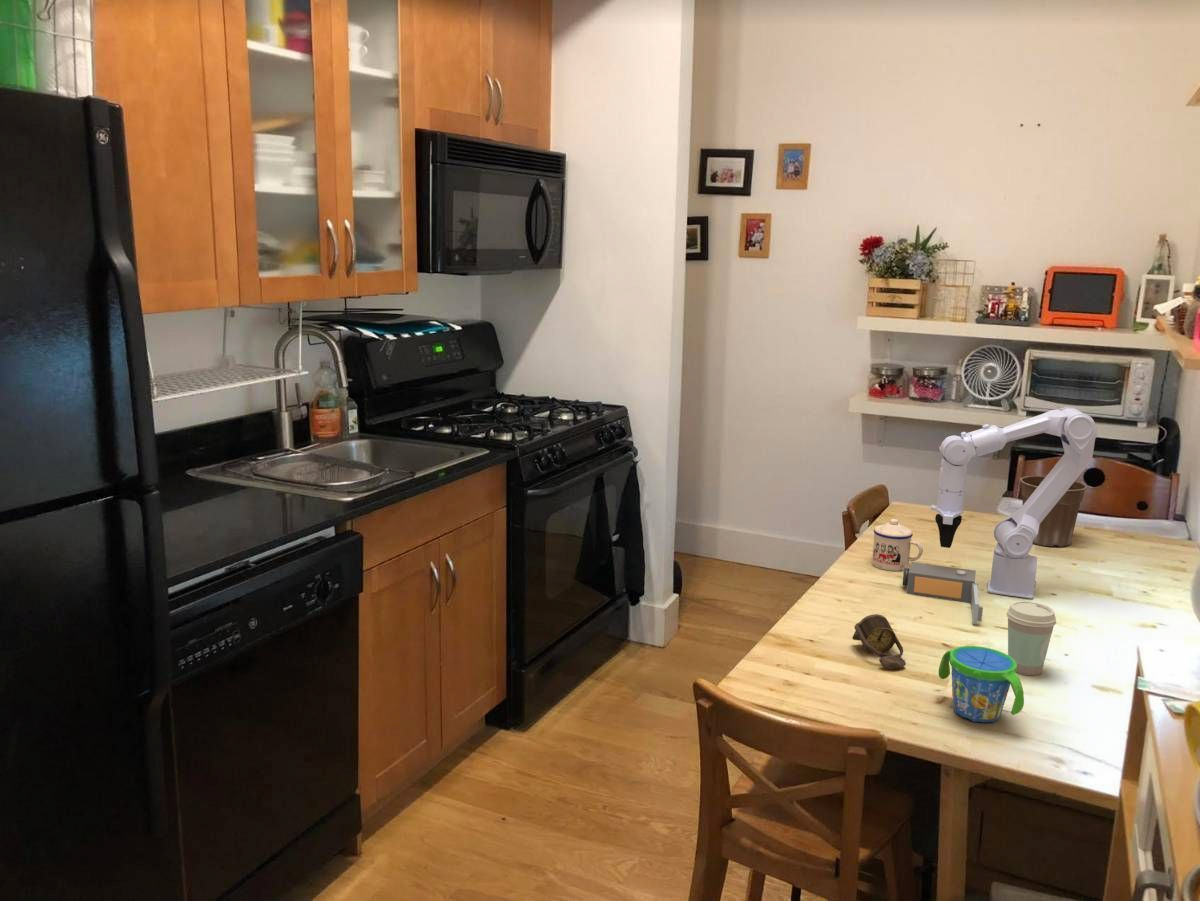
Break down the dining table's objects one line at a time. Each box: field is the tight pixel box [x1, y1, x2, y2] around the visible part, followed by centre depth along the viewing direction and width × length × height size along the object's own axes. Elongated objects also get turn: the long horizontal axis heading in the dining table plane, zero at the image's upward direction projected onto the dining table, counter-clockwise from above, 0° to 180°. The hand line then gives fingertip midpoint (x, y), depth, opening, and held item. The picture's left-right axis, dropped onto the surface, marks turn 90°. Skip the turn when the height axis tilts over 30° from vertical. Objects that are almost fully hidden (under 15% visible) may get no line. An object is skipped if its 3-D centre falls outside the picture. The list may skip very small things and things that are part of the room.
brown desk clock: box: [851, 613, 906, 670], centre depth 189 cm, size 7×13×10 cm
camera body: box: [902, 561, 977, 604], centre depth 224 cm, size 15×8×6 cm, turn 68°
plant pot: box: [1019, 475, 1088, 548], centre depth 263 cm, size 16×16×16 cm
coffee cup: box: [1005, 600, 1057, 676], centre depth 184 cm, size 8×8×12 cm
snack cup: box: [938, 645, 1025, 723], centre depth 166 cm, size 16×10×10 cm
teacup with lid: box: [871, 518, 924, 572], centre depth 240 cm, size 12×9×12 cm
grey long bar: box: [969, 582, 984, 625], centre depth 211 cm, size 14×2×4 cm, turn 161°
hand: (945, 546), depth 227 cm, fingers closed
